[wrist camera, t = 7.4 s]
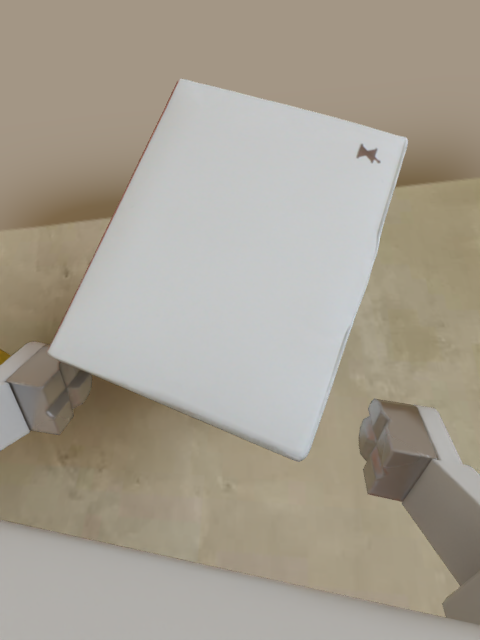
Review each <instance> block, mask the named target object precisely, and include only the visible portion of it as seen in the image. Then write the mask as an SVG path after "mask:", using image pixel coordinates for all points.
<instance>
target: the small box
mask: <svg viewBox="0 0 480 640" xmlns="http://www.w3.org/2000/svg"><path fill="white" fill-rule="evenodd" d="M407 145H408V139H407V138H406V137H402V136H397V135H394V134H391V133H387V132H384V131H381V130H377V129H374V128H370V127H367V126H364V125H361V124H356V123H353V122H350V121H346V120H343V119H339V118H335V117H331V116H328V115H324V114H320V113H316V112H312V111H309V110H305V109H301V108H297V107H293V106H289V105H285V104H282V103H278V102H274V101H269V100H265V99H262V98H257V97H253V96H249V95H246V94H242V93H238V92H234V91H230V90H226V89H222V88H218V87H214V86H210V85H205V84H200V83H197V82H193V81H189V80H186V79H179V81H178V82H177V83H176V85H175V87H174V90H173V92H172V94H171V96H170V98H169V100H168V102H167V104H166V106H165V109H164V111H163V113H162V115H161V117H160V119H159V121H158V123H157V125H156V127H155V129H154V131H153V133H152V135H151V137H150V140H149V142H148V144H147V146H146V148H145V150H144V152H143V154H142V156H141V158H140V160H139V162H138V164H137V167H136V169H135V171H134V173H133V175H132V177H131V179H130V181H129V184H128V186H127V188H126V190H125V192H124V194H123V196H122V198H121V200H120V202H119V204H118V206H117V208H116V210H115V212H114V214H113V216H112V218H111V220H110V222H109V225H108V227H107V229H106V231H105V233H104V235H103V237H102V239H101V241H100V243H99V245H98V247H97V250H96V252H95V254H94V256H93V258H92V260H91V262H90V264H89V266H88V268H87V270H86V272H85V275H84V277H83V279H82V281H81V283H80V285H79V287H78V289H77V291H76V293H75V295H74V297H73V299H72V301H71V303H70V305H69V307H68V309H67V311H66V314H65V316H64V318H63V320H62V322H61V324H60V326H59V328H58V330H57V332H56V334H55V336H54V338H53V341H52V343H51V344H50V346H49V348H48V350H47V354H48V355H50V356H51V357H52V358H54V359H56V360H59V361H61V362H63V363H66V364H68V365H71V366H73V367H75V368H78V369H80V370H83V371H85V372H87V373H90V374H92V375H94V376H97V377H99V378H102V379H104V380H106V381H109V382H111V383H113V384H116V385H118V386H120V387H123V388H125V389H127V390H130V391H132V392H134V393H137V394H139V395H141V396H144V397H146V398H149V399H151V400H153V401H156V402H158V403H160V404H163V405H165V406H167V407H170V408H172V409H174V410H177V411H179V412H181V413H184V414H186V415H189V416H191V417H193V418H196V419H198V420H200V421H203V422H205V423H207V424H210V425H212V426H214V427H217V428H219V429H221V430H224V431H226V432H228V433H231V434H233V435H235V436H238V437H240V438H242V439H245V440H247V441H249V442H252V443H254V444H256V445H259V446H261V447H263V448H266V449H268V450H271V451H273V452H275V453H278V454H280V455H282V456H285V457H287V458H290V459H292V460H295V461H298V462H299V461H302V460H303V459H304V458H306V457H307V455H308V453H309V451H310V449H311V446H312V443H313V440H314V437H315V434H316V432H317V429H318V426H319V423H320V420H321V417H322V414H323V411H324V409H325V406H326V403H327V400H328V397H329V394H330V391H331V388H332V385H333V382H334V379H335V376H336V373H337V369H338V366H339V363H340V360H341V358H342V355H343V352H344V349H345V346H346V343H347V340H348V337H349V334H350V331H351V328H352V325H353V322H354V319H355V316H356V313H357V311H358V308H359V306H360V303H361V301H362V298H363V295H364V293H365V290H366V287H367V284H368V281H369V278H370V274H371V271H372V267H373V263H374V261H375V258H376V255H377V251H378V247H379V241H380V237H381V233H382V228H383V225H384V221H385V218H386V215H387V212H388V208H389V204H390V201H391V198H392V195H393V192H394V189H395V185H396V182H397V178H398V175H399V171H400V169H401V165H402V162H403V159H404V155H405V152H406V149H407Z"/></svg>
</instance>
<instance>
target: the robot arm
mask: <svg viewBox="0 0 480 640" xmlns="http://www.w3.org/2000/svg"><path fill="white" fill-rule="evenodd" d="M49 346H50V344H45V343H40V342H35V341H32V342H29V343H26V344H25V345H24V346H23V347H22V348H20V349H19V350H18V351H17V352H16V353H14V354H13V355H12V356H11V357H10V358H9V359H7V360H6V361H5V362H4V363H3V364H1V365H0V451H1V450H3V449H4V448H6V447H7V446H9V445H11V444H12V443H14V442H15V441H17V440H18V439H20V438H22V437H23V436H25V435H26V434H28V433H29V432H30V430H31V431H37V432H44V433H50V434H56V435H60V434H61V432H62V431H63V430H64V428H65V427H66V426H67V424H68V423H69V422H70V420H71V419H72V418H73V416H74V413H73V409H74V408H76V407H78V406H79V405H81V404H83V403H84V401H85V400H86V398H87V397H88V395H89V393H90V390H91V387H92V376H91V374H90V373H87V372H85V371H83V370H80V369H78V368H75V367H73V366H71V365H68V364H66V363H63V362H61V361H59V360H56V359H54V358H52V357H51V356H50V355H48V354H47V350H48V348H49ZM368 410H369V414H370V416H369V417H367V418H365V419H363V421H362V424H361V427H360V432H359V449H360V454H361V455H362V457H363V458H364V459H365V460H366V461H367V463H366V465H365V467H364V469H363V472H364V477H365V483H366V488H367V493H368V494H369V495H374V496H378V497H383V498H388V499H392V500H397V501H401V502H402V504H403V506H404V507H405V509H406V510H407V511H408V513H409V514H410V516H411V517H412V519H413V520H414V521H415V523H416V524H417V526H418V527H419V528H420V530H421V531H422V533H423V534H424V535H425V537H426V538H427V540H428V541H429V542H430V544H431V545H432V547H433V548H434V550H435V551H436V552H437V554H438V555H439V557H440V558H441V559H442V561H443V562H444V564H445V565H446V566H447V568H448V569H449V571H450V572H451V574H452V575H453V576H454V578H455V579H456V581H457V582H458V583H459V585H460V587H459V588H458V589H457V590H455V591H454V592H453V593H452V594H451V595H449V596H448V597H447V598H446V599H445V600H444V602H443V603H442V605H443V608H444V612H445V615H446V617H441V616H437V615H432V614H428V613H423V612H419V611H414V610H410V609H405V608H401V607H396V606H391V605H387V604H382V603H378V602H373V601H369V600H364V599H360V598H355V597H350V596H346V595H341V594H337V593H332V592H328V591H323V590H319V589H314V588H309V587H305V586H300V585H296V584H291V583H287V582H282V581H278V580H273V579H269V578H264V577H259V576H255V575H250V574H246V573H241V572H237V571H232V570H228V569H223V568H218V567H214V566H209V565H205V564H200V563H196V562H191V561H187V560H182V559H178V558H173V557H168V556H164V555H159V554H155V553H150V552H146V551H141V550H137V549H132V548H127V547H123V546H118V545H114V544H109V543H105V542H100V541H96V540H91V539H86V538H82V537H77V536H73V535H68V534H64V533H59V532H55V531H50V530H45V529H41V528H36V527H32V526H27V525H23V524H18V523H13V522H9V521H4V520H0V640H480V474H478V473H477V472H476V471H475V470H474V469H473V468H472V467H471V466H469V465H464V464H463V463H462V461H461V459H460V457H459V455H458V453H457V451H456V448H455V446H454V444H453V442H452V440H451V438H450V436H449V434H448V432H447V429H446V427H445V425H444V423H443V421H442V419H441V417H440V415H439V412H438V411H437V410H436V409H435V408H432V407H426V406H419V405H411V404H405V403H399V402H393V401H386V400H380V399H374V400H373V401H371V403H370V405H369V408H368Z"/></svg>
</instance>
